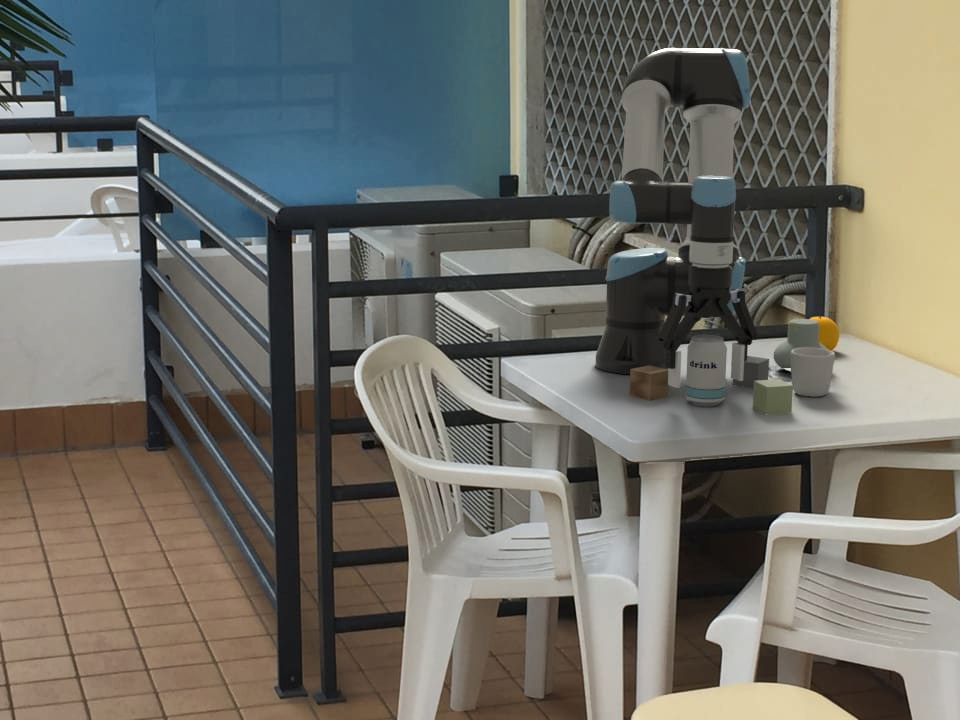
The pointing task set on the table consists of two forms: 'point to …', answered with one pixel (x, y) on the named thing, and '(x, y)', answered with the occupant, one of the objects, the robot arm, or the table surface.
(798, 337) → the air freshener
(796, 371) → the cup
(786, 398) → the olive block
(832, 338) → the orange
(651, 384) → the walnut block
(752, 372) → the charcoal block
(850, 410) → the table surface
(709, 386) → the beverage can
